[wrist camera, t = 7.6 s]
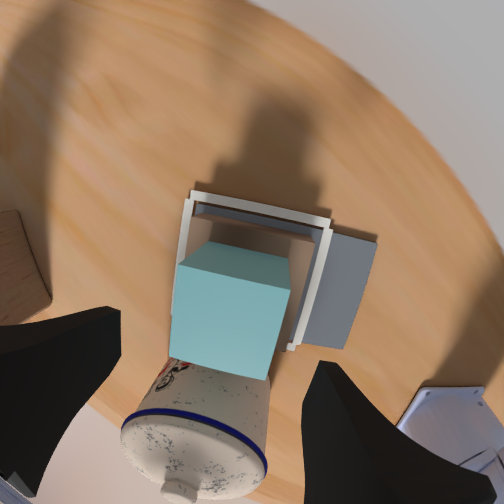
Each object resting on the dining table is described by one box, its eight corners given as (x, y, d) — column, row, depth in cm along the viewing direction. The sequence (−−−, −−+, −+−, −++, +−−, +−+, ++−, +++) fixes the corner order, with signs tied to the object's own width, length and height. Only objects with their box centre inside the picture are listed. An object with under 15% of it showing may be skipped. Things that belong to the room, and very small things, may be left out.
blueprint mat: (378, 231, 18) (381, 232, 17) (338, 355, 20) (339, 358, 19) (189, 189, 18) (187, 189, 18) (171, 319, 21) (169, 321, 20)
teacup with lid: (191, 312, 20) (114, 423, 9) (296, 370, 21) (299, 501, 9) (142, 402, 23) (88, 490, 12) (225, 445, 23) (200, 541, 12)
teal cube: (288, 258, 16) (290, 290, 11) (270, 329, 17) (265, 380, 12) (208, 241, 16) (177, 264, 11) (197, 312, 17) (168, 356, 12)
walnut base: (310, 235, 18) (315, 243, 15) (285, 333, 19) (285, 351, 17) (202, 212, 18) (191, 216, 16) (188, 310, 20) (176, 326, 17)
